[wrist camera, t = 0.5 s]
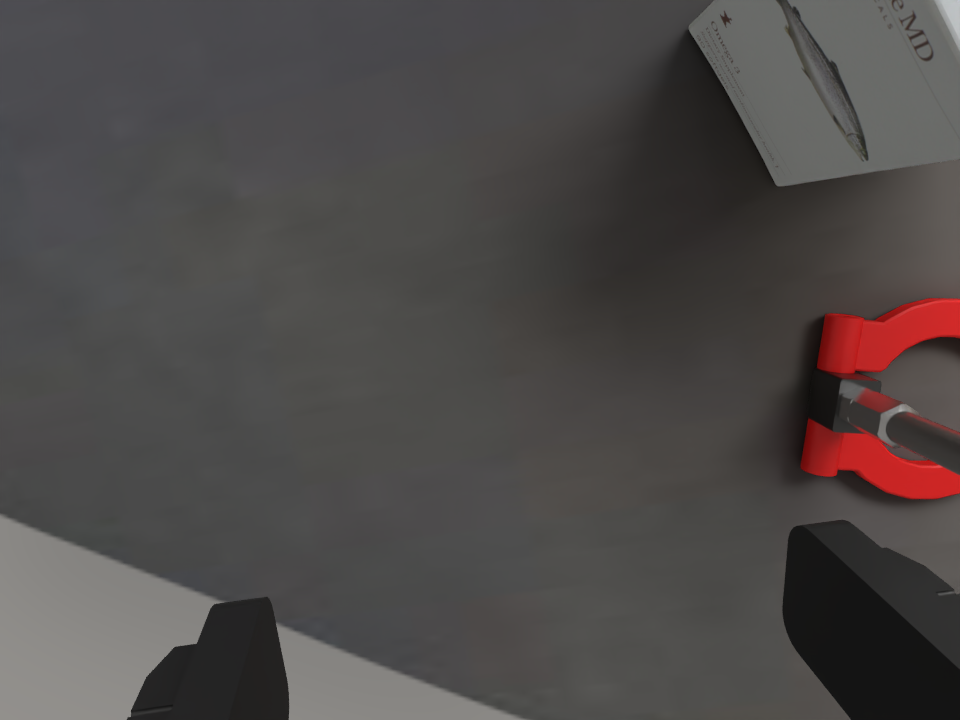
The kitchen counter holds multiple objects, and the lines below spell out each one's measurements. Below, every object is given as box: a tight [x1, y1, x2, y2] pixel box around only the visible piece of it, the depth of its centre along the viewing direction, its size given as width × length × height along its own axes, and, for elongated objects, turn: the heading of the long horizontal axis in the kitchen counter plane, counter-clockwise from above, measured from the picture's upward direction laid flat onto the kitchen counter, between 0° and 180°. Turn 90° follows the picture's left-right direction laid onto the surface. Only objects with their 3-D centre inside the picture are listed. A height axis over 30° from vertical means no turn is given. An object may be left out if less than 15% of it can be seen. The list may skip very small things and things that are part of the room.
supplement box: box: [689, 0, 960, 186], centre depth 20 cm, size 7×7×13 cm
